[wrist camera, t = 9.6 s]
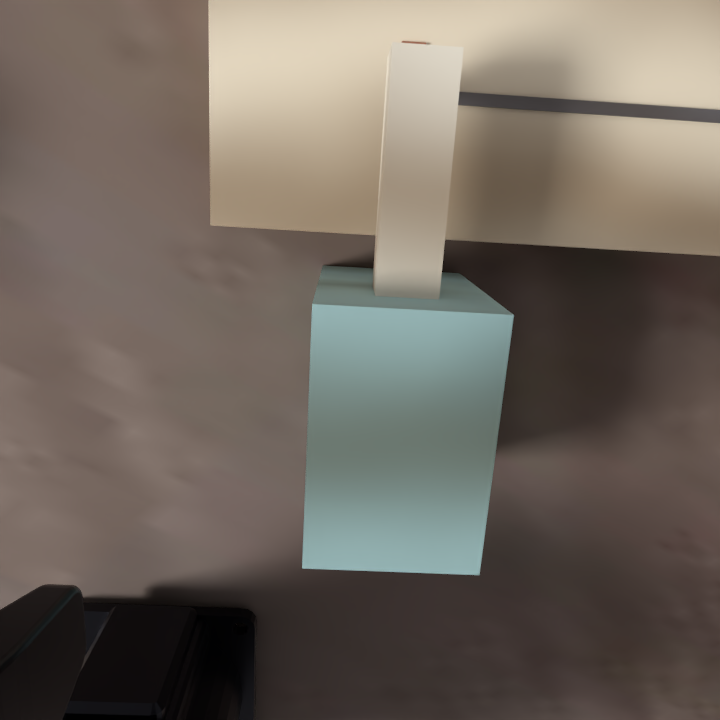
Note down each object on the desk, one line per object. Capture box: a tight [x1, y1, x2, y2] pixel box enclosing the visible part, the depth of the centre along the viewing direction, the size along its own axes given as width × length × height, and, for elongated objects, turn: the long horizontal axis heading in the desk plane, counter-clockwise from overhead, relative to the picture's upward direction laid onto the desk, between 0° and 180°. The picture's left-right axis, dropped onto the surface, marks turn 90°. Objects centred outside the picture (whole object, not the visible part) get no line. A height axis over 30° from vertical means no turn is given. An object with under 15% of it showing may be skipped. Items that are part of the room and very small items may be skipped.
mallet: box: [302, 42, 514, 575], centre depth 15 cm, size 11×4×6 cm, turn 177°
